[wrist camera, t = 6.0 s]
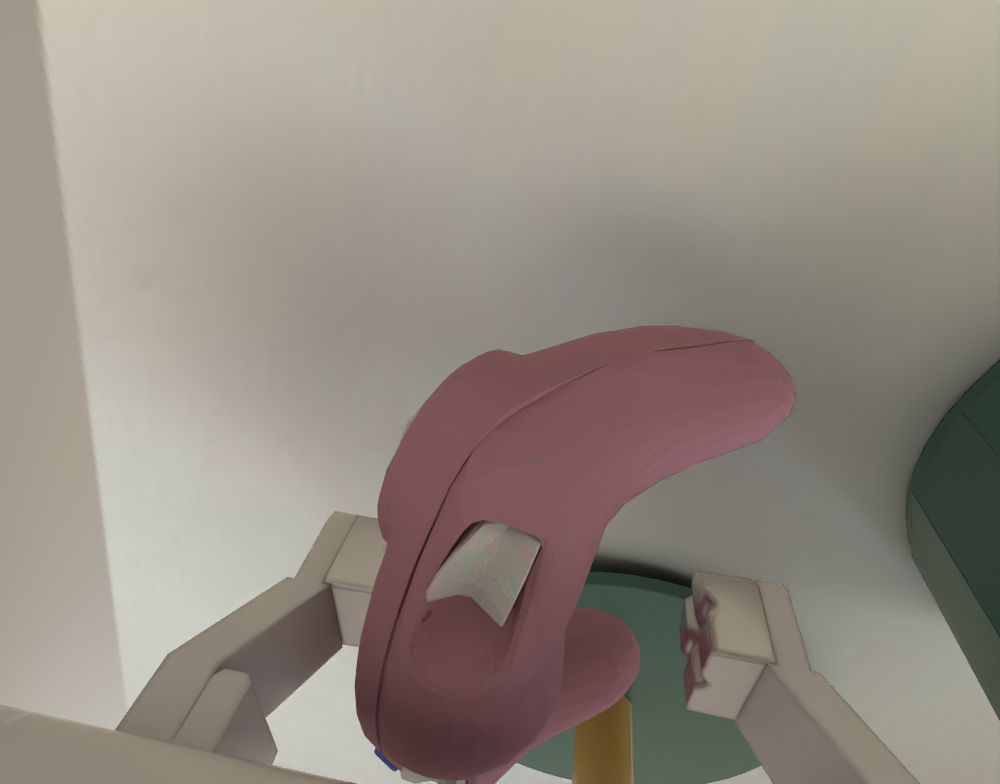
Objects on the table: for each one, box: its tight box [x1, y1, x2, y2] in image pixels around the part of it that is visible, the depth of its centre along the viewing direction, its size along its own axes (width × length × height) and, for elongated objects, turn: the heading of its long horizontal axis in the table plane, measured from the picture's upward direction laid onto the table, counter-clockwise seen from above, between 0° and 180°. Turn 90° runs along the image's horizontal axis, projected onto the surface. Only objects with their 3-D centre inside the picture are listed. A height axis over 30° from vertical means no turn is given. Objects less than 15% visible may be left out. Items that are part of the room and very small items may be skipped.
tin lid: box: [516, 572, 761, 784], centre depth 24 cm, size 16×16×5 cm
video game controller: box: [355, 326, 796, 784], centre depth 11 cm, size 10×5×7 cm, turn 171°
